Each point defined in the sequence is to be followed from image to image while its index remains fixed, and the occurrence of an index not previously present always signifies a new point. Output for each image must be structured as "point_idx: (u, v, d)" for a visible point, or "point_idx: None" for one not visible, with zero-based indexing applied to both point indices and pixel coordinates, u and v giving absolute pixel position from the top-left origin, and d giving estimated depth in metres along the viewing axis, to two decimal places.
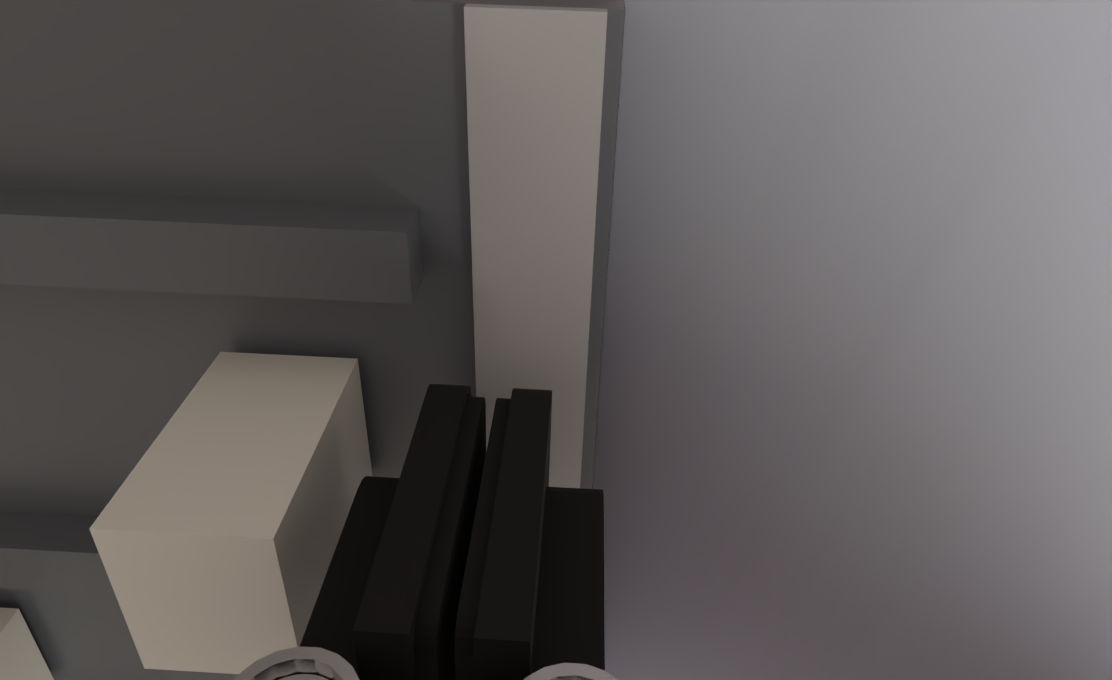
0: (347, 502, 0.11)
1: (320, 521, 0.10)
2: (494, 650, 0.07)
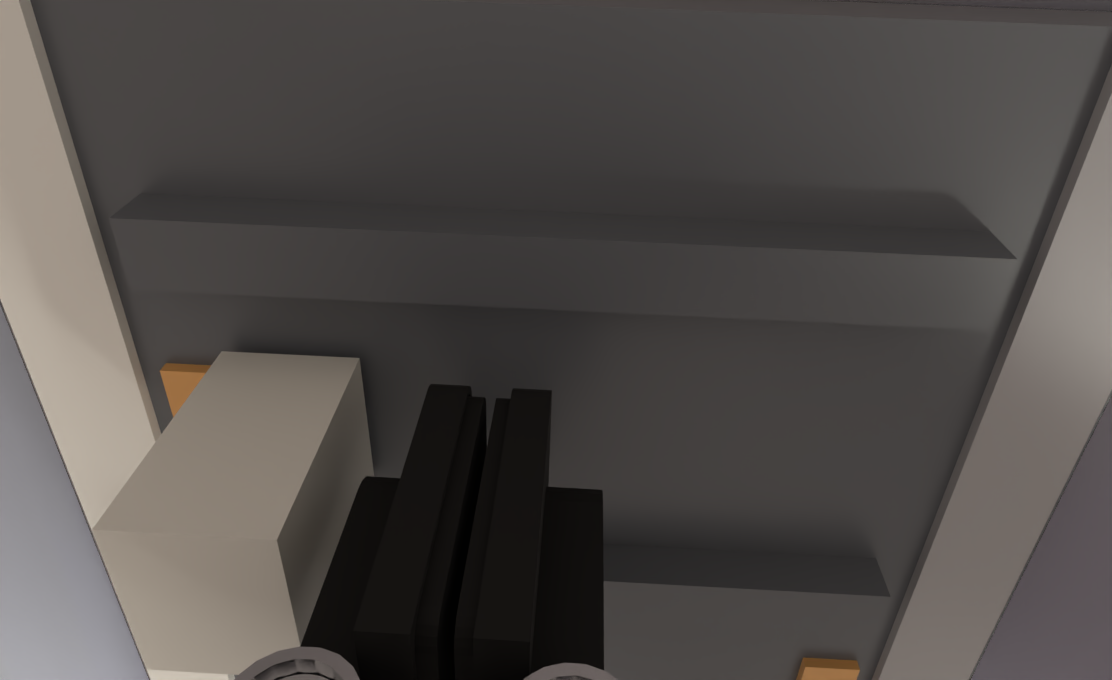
0: (349, 502, 0.11)
1: (323, 521, 0.10)
2: (493, 650, 0.07)
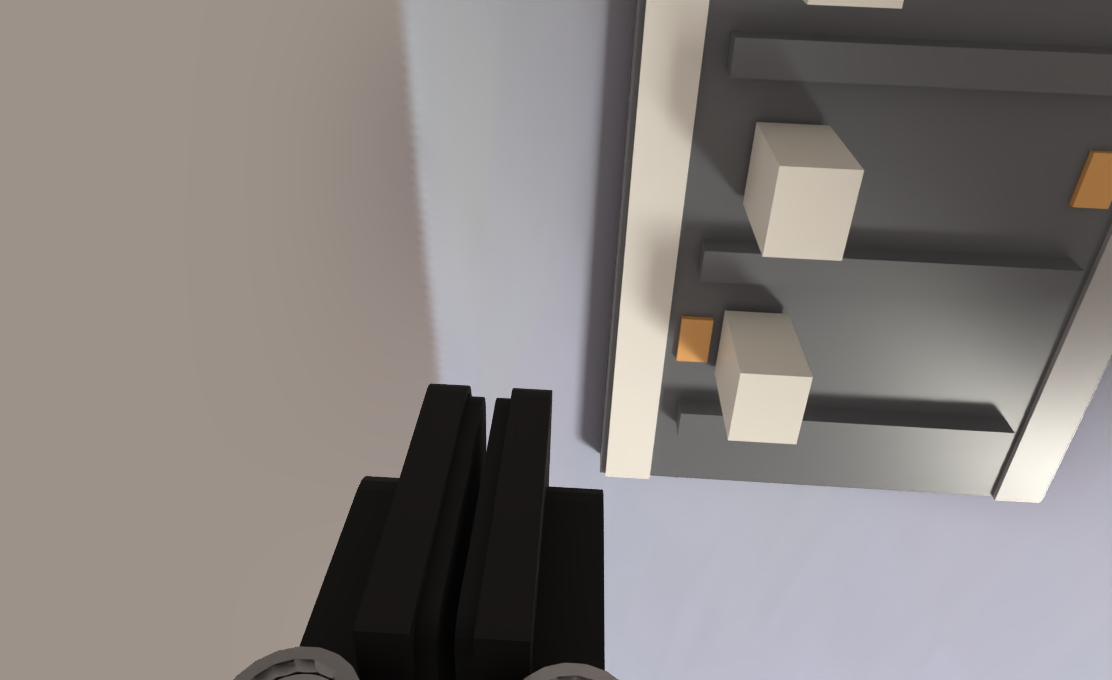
0: None
1: None
2: (494, 650, 0.07)
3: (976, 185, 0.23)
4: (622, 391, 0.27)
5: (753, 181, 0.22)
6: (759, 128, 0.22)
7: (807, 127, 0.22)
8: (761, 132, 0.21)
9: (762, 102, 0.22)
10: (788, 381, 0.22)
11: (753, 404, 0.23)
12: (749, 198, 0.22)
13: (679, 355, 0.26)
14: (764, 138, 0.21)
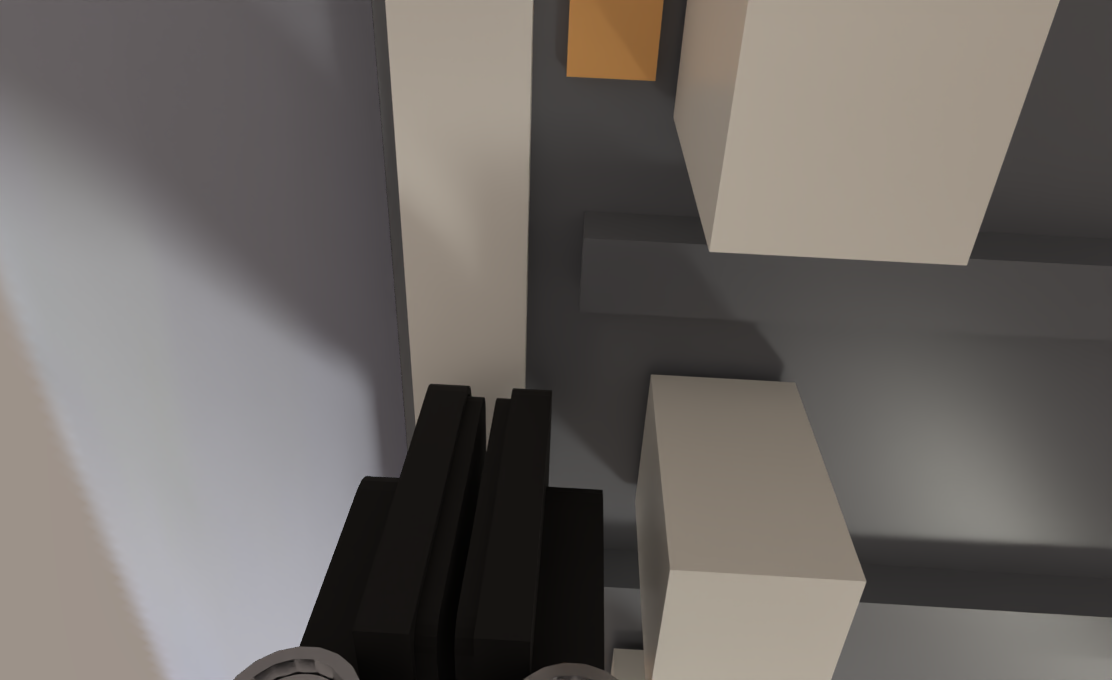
0: None
1: None
2: (494, 650, 0.07)
3: (1070, 476, 0.12)
4: None
5: (644, 493, 0.11)
6: (653, 397, 0.11)
7: (749, 393, 0.11)
8: (654, 413, 0.10)
9: (657, 337, 0.11)
10: None
11: None
12: (640, 515, 0.12)
13: None
14: (656, 437, 0.10)
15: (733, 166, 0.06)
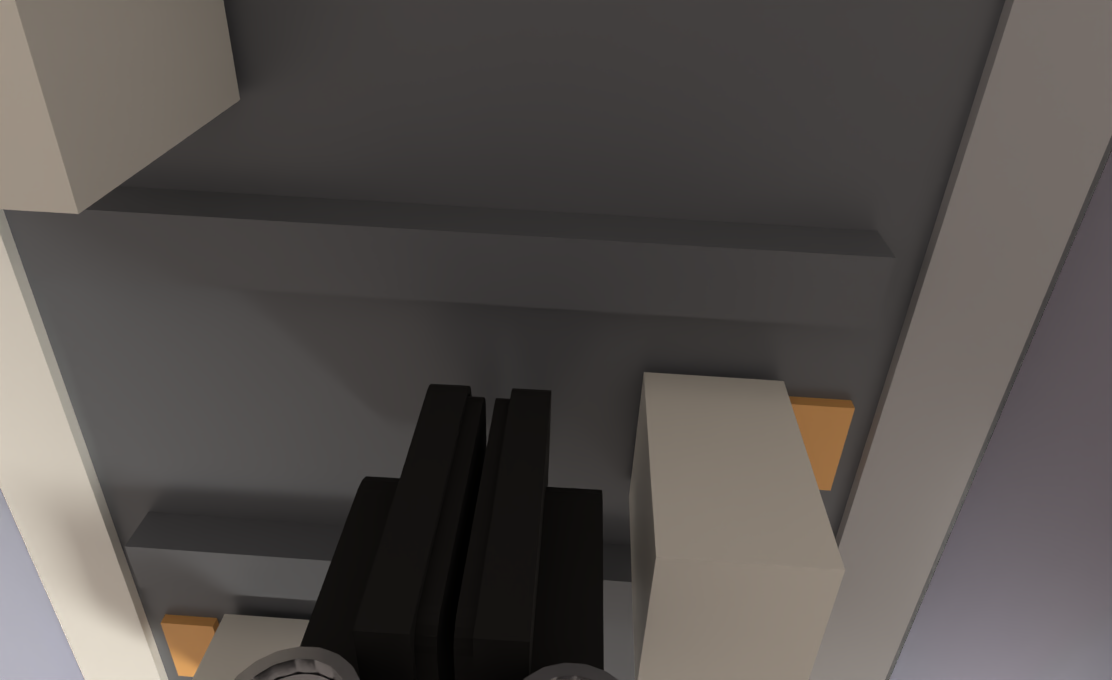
0: (181, 57, 0.08)
1: (114, 10, 0.07)
2: (493, 650, 0.07)
3: (591, 444, 0.13)
4: None
5: (636, 487, 0.11)
6: (645, 394, 0.11)
7: (739, 390, 0.11)
8: (646, 409, 0.11)
9: (157, 305, 0.12)
10: None
11: None
12: (633, 509, 0.12)
13: (179, 669, 0.16)
14: (647, 432, 0.10)
15: None
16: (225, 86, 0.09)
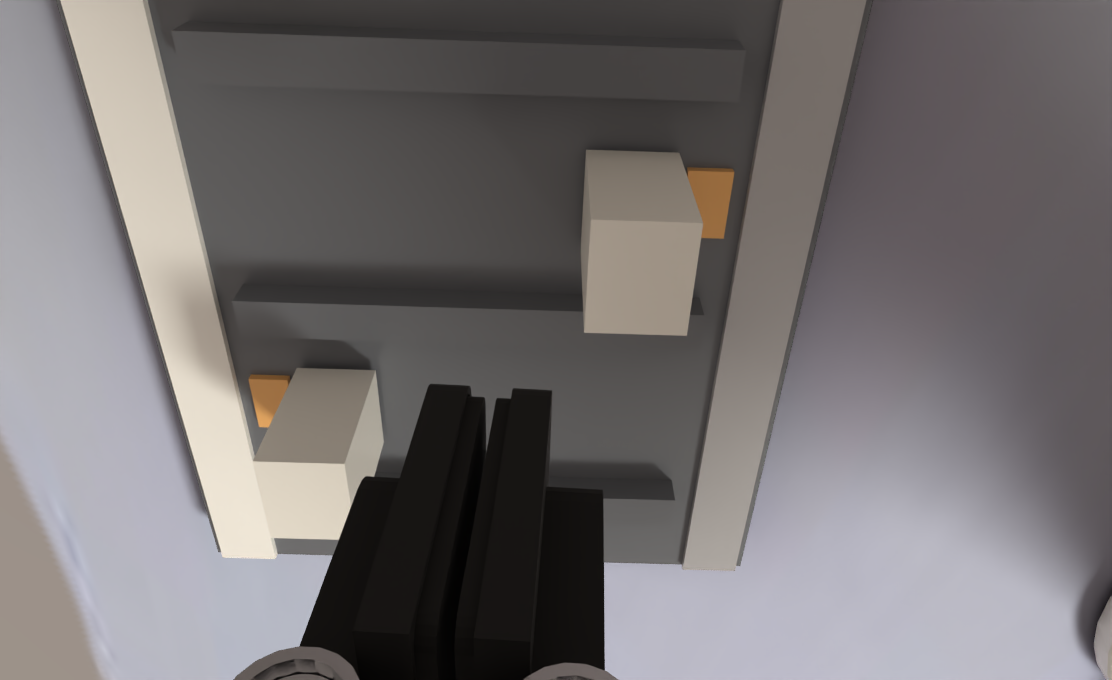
0: None
1: None
2: (494, 650, 0.07)
3: (559, 212, 0.18)
4: (206, 463, 0.22)
5: (583, 226, 0.17)
6: (586, 159, 0.17)
7: (649, 157, 0.17)
8: (587, 165, 0.16)
9: (259, 113, 0.17)
10: (316, 468, 0.18)
11: (285, 496, 0.18)
12: (582, 246, 0.18)
13: (260, 421, 0.21)
14: (587, 174, 0.16)
15: None
16: None
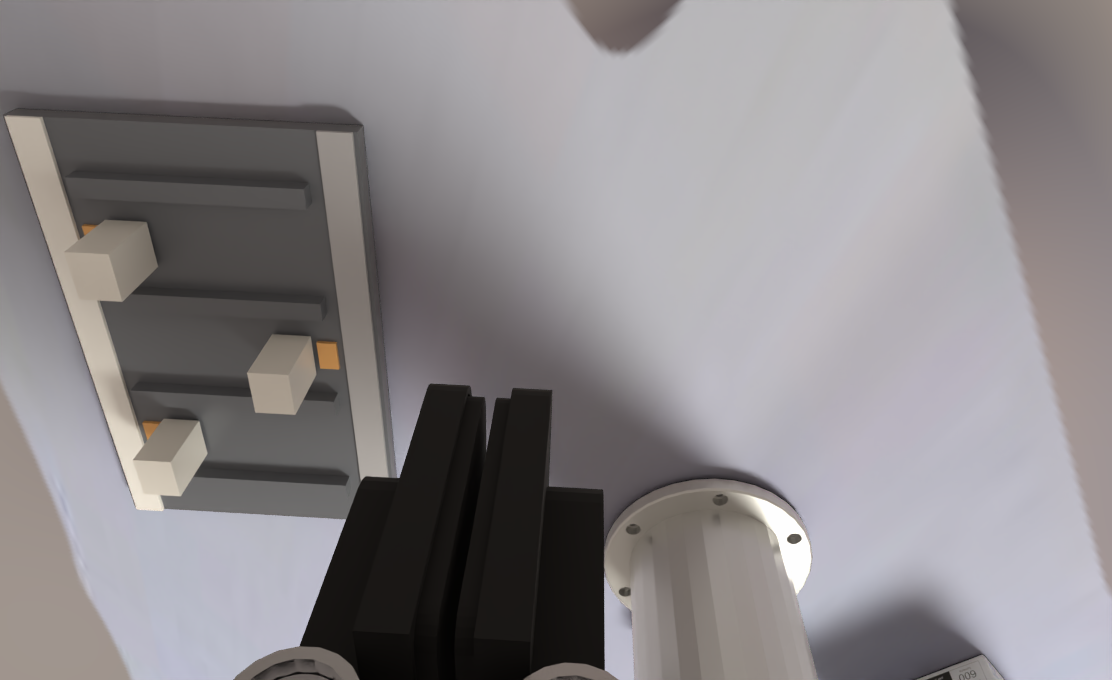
0: (142, 264, 0.38)
1: (128, 261, 0.37)
2: (493, 650, 0.07)
3: None
4: (126, 461, 0.46)
5: None
6: None
7: (295, 338, 0.41)
8: (266, 343, 0.41)
9: (138, 317, 0.41)
10: (159, 464, 0.42)
11: (147, 476, 0.42)
12: None
13: None
14: (263, 348, 0.40)
15: (76, 286, 0.36)
16: (153, 265, 0.39)
